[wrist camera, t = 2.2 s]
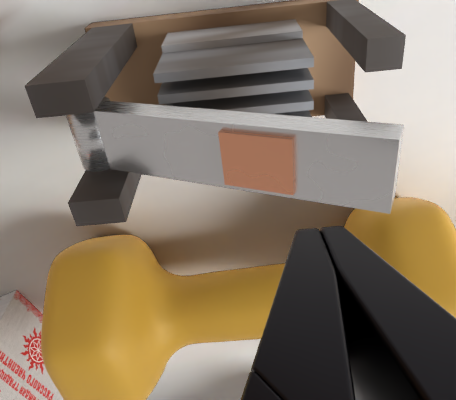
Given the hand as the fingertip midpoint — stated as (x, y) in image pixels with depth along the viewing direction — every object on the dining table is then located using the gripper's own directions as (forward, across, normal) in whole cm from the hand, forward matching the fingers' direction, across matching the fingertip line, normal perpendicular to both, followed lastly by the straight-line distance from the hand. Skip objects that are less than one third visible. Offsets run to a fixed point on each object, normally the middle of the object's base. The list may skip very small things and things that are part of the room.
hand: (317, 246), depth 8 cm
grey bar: (+6, +2, 0) cm, 6 cm away
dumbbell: (+13, +1, +11) cm, 17 cm away
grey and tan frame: (+13, +2, 0) cm, 13 cm away
